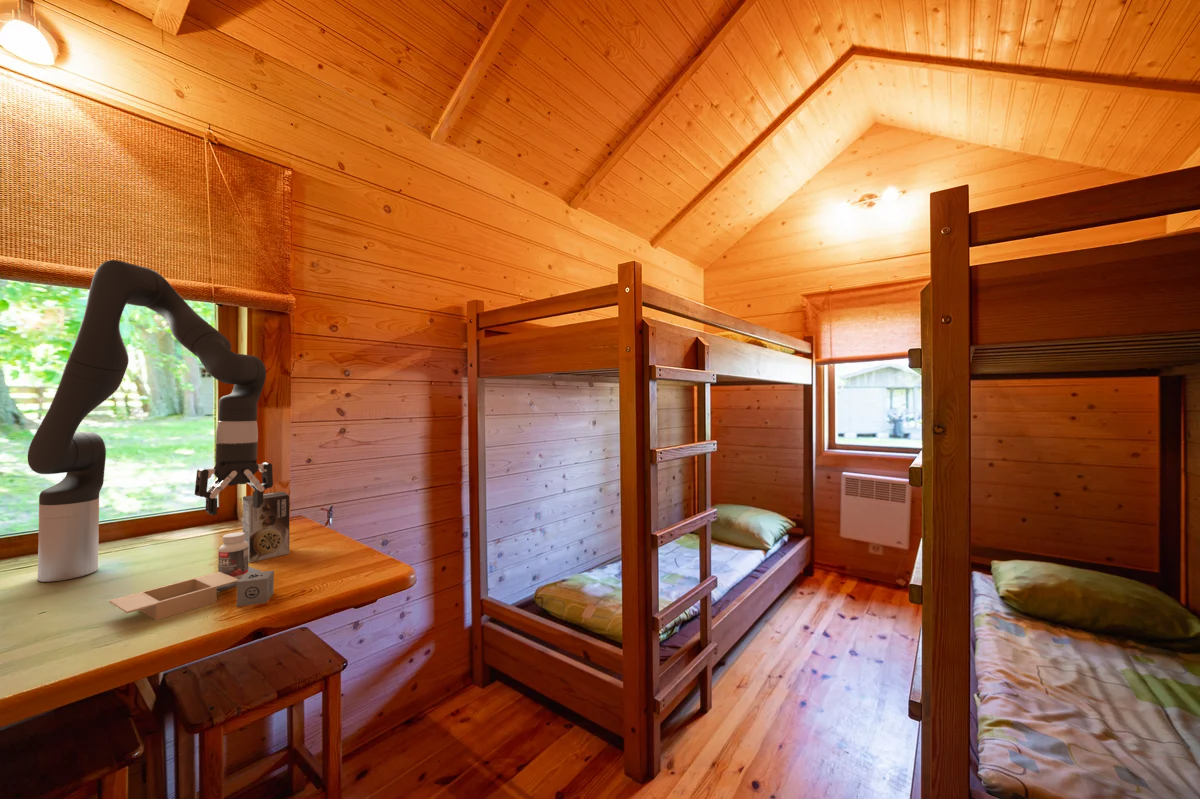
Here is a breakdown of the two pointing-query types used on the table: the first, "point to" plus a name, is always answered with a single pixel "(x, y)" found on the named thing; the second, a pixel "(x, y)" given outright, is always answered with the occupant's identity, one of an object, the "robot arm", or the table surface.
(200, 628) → the table surface
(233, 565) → the pill bottle
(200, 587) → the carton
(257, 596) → the dice cube
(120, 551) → the table surface
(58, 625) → the table surface
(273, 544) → the coffee box
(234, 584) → the mat
